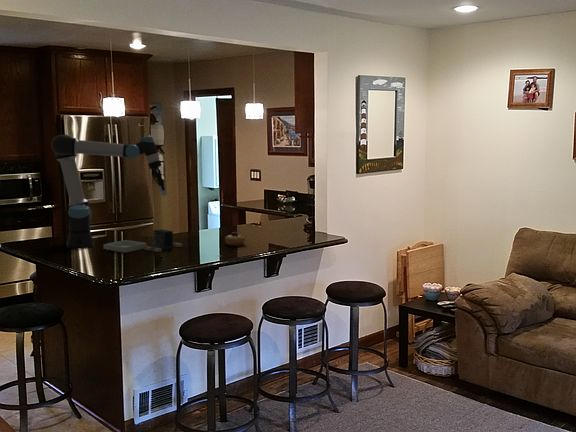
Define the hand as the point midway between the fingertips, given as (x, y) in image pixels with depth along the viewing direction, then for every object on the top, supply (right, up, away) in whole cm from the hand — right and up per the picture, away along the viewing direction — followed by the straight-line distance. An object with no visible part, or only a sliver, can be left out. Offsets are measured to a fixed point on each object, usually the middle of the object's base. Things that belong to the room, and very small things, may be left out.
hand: (164, 194), depth 382 cm
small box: (+4, -32, -24) cm, 40 cm away
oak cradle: (+4, -31, -24) cm, 40 cm away
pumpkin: (+44, -30, -11) cm, 55 cm away
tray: (-17, -32, -26) cm, 44 cm away
